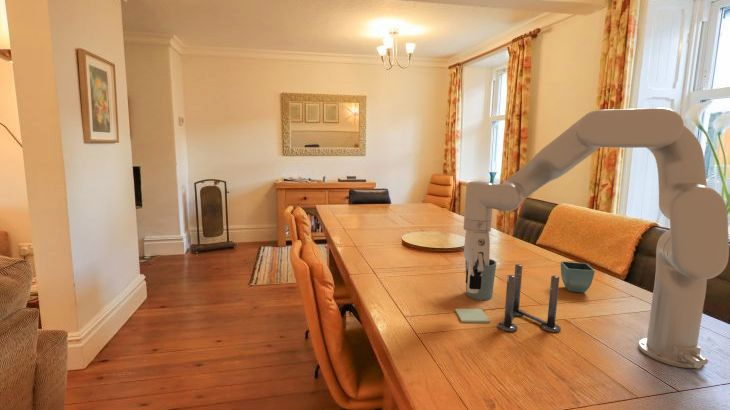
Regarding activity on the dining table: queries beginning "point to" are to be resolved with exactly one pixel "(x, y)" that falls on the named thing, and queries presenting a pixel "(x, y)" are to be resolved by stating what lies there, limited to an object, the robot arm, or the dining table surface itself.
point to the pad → (472, 315)
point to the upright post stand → (514, 310)
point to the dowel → (469, 280)
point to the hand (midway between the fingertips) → (473, 285)
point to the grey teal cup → (485, 282)
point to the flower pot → (577, 276)
